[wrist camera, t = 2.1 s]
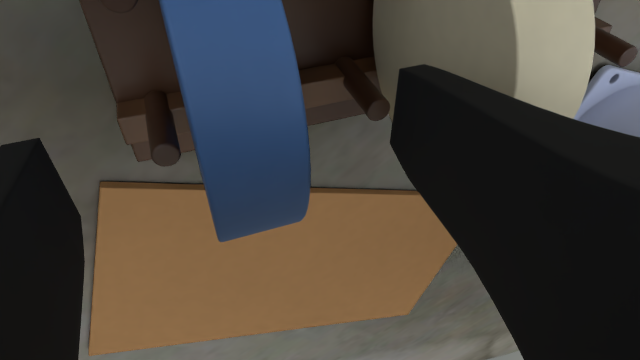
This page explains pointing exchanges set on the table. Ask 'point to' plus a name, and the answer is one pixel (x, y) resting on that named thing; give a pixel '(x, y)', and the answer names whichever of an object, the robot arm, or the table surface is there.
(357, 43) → the rack
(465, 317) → the table surface
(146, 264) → the mat
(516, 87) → the cream disc
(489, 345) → the table surface
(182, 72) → the blue disc
